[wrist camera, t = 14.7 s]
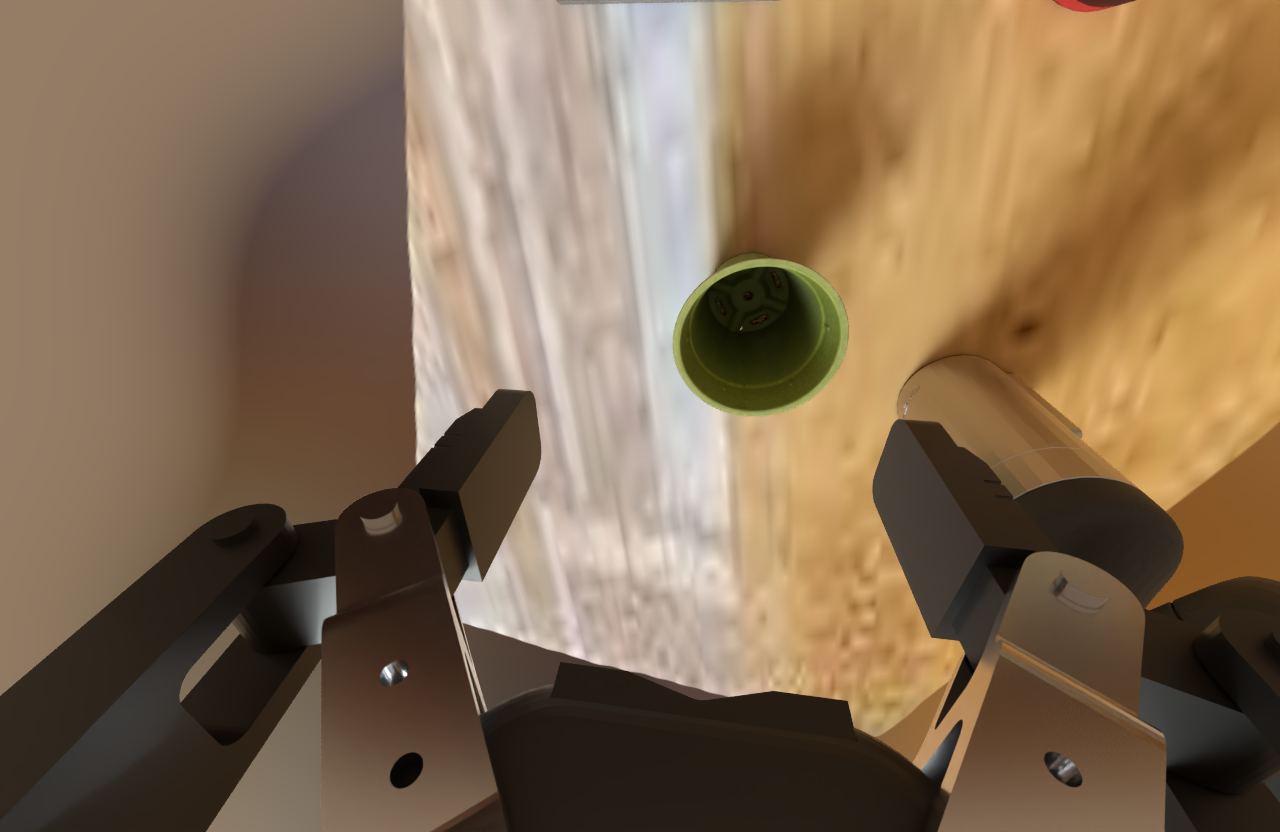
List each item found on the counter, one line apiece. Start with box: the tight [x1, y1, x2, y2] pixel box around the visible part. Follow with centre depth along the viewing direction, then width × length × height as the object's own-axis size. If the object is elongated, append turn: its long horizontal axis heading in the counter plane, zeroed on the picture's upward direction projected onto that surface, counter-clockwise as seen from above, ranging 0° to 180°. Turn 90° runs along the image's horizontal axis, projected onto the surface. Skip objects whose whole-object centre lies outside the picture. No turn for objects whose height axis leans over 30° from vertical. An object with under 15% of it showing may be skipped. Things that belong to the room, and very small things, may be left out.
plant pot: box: [673, 253, 849, 417], centre depth 37 cm, size 12×12×11 cm
